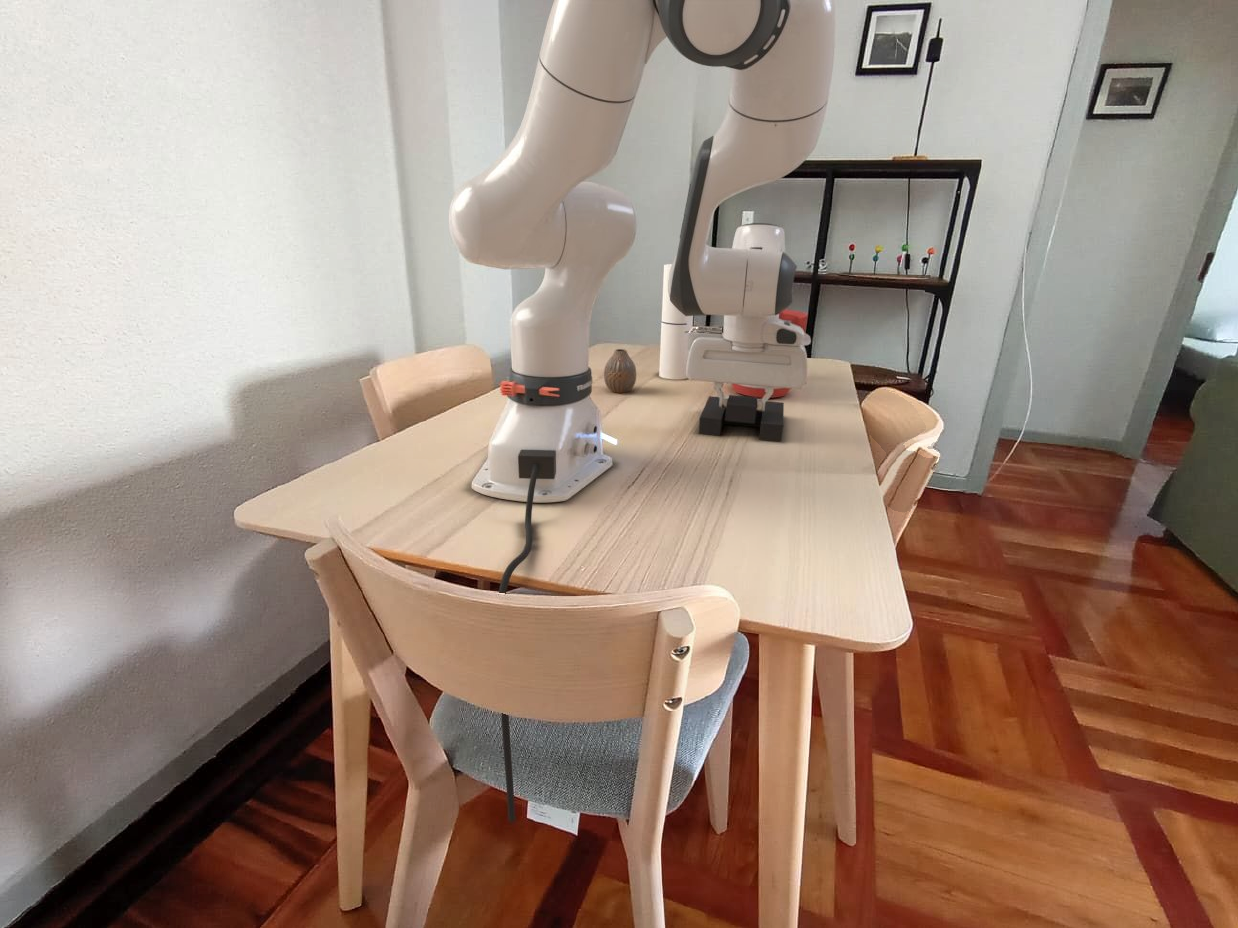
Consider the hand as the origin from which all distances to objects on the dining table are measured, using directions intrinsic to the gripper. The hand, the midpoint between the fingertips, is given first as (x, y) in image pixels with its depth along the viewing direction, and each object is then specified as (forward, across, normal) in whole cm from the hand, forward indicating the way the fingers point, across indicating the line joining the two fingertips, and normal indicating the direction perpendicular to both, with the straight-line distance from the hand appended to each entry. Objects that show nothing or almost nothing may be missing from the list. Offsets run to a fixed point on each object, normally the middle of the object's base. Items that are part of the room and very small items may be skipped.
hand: (741, 408), depth 106 cm
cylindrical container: (+4, -18, +36) cm, 41 cm away
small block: (+2, 0, 0) cm, 2 cm away
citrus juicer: (+4, +3, +27) cm, 28 cm away
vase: (+4, -27, +20) cm, 33 cm away
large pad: (+4, 0, +3) cm, 5 cm away
